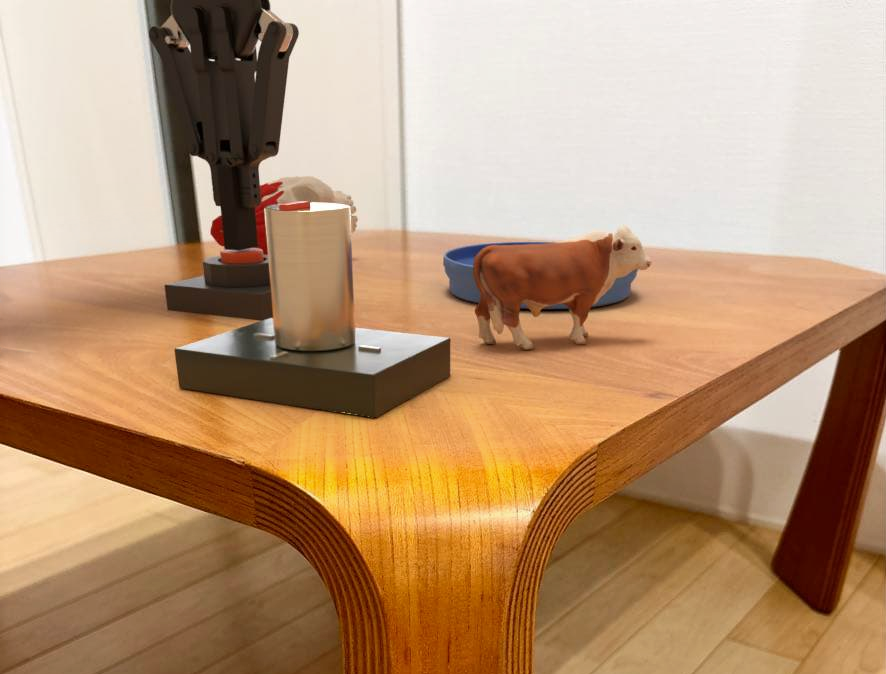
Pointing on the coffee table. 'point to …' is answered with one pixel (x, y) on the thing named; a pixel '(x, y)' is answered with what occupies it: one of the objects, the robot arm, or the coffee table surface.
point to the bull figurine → (551, 279)
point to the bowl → (465, 288)
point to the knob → (311, 275)
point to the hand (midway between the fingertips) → (241, 247)
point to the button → (242, 255)
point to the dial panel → (316, 369)
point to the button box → (225, 290)
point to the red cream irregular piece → (288, 193)
